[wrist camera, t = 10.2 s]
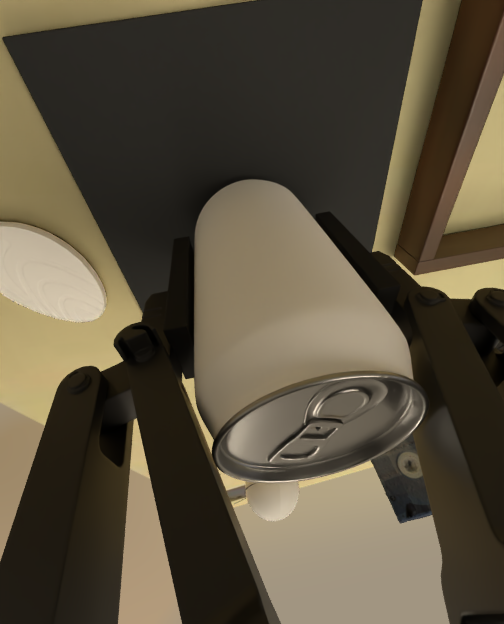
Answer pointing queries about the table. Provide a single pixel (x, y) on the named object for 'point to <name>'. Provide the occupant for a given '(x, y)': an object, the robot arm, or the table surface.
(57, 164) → the table surface
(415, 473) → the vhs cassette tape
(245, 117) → the mat
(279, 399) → the can
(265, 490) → the seamed sphere
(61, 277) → the spoon
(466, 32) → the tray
